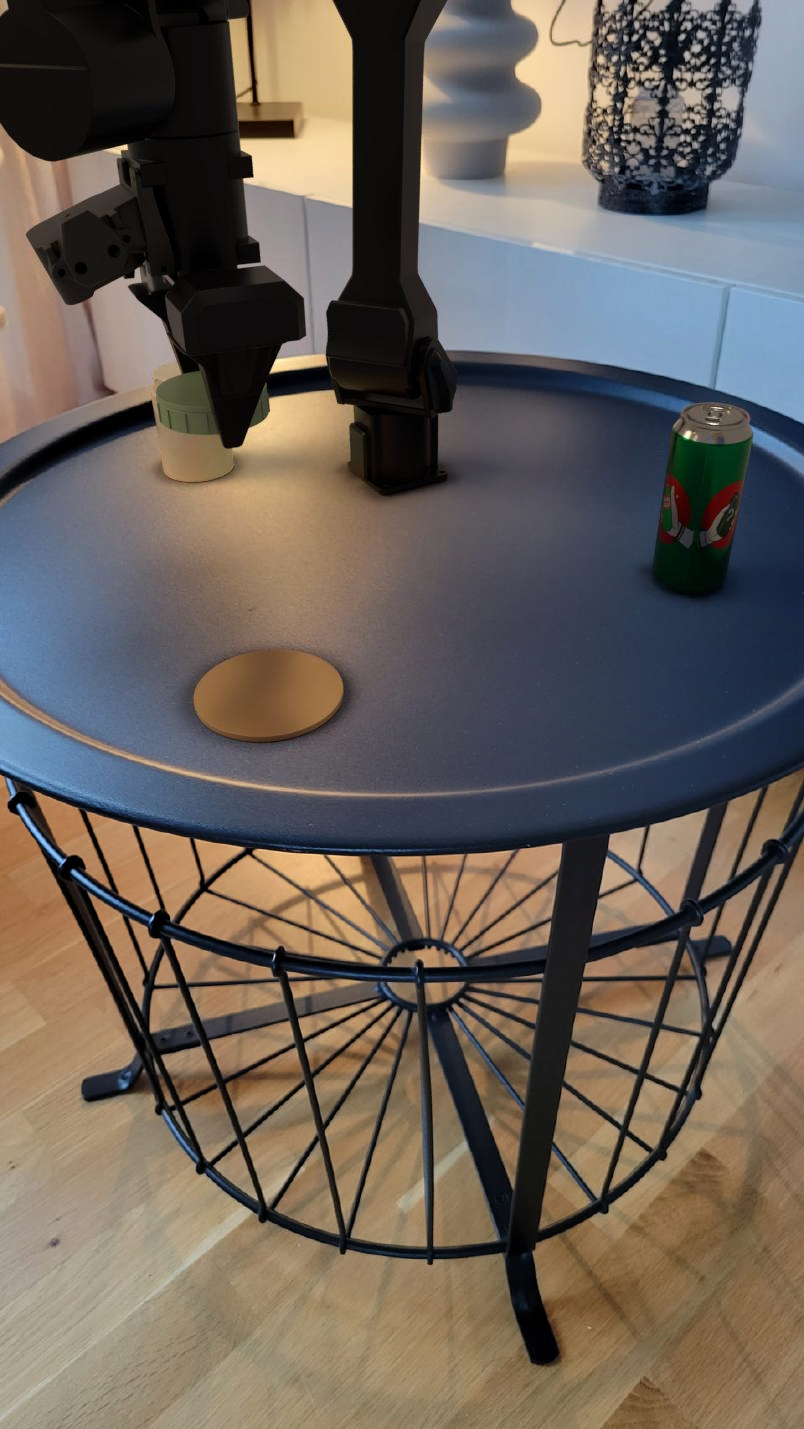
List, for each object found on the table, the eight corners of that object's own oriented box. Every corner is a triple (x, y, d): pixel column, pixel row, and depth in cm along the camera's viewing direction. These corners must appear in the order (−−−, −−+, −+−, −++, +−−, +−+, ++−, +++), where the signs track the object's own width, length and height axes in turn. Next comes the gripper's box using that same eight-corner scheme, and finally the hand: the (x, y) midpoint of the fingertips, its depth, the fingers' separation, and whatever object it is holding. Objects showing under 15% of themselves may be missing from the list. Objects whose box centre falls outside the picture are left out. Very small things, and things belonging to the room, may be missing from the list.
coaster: (305, 640, 69) (305, 635, 68) (369, 712, 62) (369, 706, 62) (173, 680, 65) (172, 675, 65) (227, 760, 59) (226, 755, 59)
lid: (162, 440, 59) (157, 411, 58) (157, 401, 64) (152, 374, 63) (276, 429, 60) (273, 401, 59) (262, 391, 65) (259, 365, 64)
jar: (219, 448, 94) (207, 353, 89) (244, 472, 90) (233, 374, 85) (154, 462, 92) (138, 366, 86) (177, 488, 87) (161, 388, 82)
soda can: (727, 568, 75) (759, 404, 68) (720, 603, 71) (753, 433, 64) (656, 558, 77) (680, 396, 69) (645, 591, 73) (669, 424, 66)
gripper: (-2, 118, 58) (56, 397, 67) (46, 172, 44) (110, 514, 53) (196, 106, 61) (225, 373, 71) (298, 153, 48) (318, 477, 57)
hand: (217, 427), depth 63 cm, fingers closed on lid, 6 cm apart
